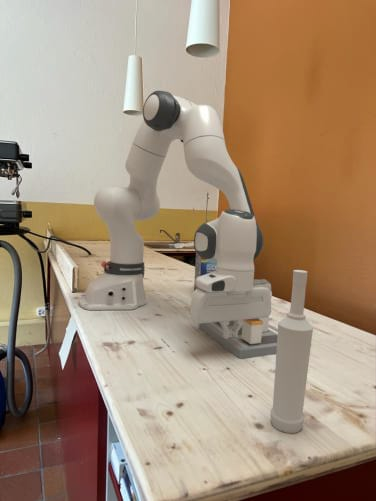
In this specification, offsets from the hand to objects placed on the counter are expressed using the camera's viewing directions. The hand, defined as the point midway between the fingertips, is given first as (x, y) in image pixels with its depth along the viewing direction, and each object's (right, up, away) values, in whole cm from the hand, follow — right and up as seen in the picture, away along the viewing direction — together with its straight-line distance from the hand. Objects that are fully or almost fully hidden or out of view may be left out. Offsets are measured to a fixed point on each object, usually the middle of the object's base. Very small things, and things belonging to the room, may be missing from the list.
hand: (230, 337), depth 85 cm
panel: (+6, -3, +11) cm, 12 cm away
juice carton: (-1, +3, +56) cm, 56 cm away
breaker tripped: (+5, -1, +3) cm, 6 cm away
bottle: (+6, -8, -27) cm, 29 cm away
